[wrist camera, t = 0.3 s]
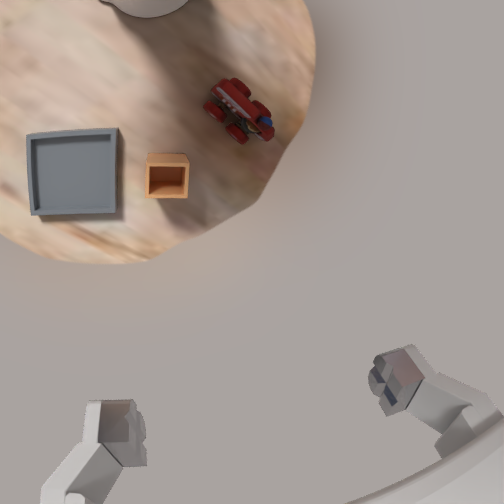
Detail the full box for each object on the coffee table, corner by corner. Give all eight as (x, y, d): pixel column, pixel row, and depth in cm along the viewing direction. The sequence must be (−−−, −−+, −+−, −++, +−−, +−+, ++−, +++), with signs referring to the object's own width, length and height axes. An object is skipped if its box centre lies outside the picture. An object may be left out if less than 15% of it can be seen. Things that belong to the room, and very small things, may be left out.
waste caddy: (147, 182, 50) (145, 198, 42) (148, 153, 48) (146, 162, 40) (183, 183, 52) (187, 198, 44) (184, 153, 49) (189, 163, 42)
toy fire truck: (246, 150, 52) (265, 161, 43) (194, 100, 46) (202, 99, 37) (275, 123, 51) (299, 128, 42) (225, 71, 45) (240, 64, 36)
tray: (35, 210, 46) (31, 215, 43) (32, 133, 40) (26, 135, 38) (117, 208, 50) (115, 212, 48) (118, 127, 44) (116, 128, 42)
